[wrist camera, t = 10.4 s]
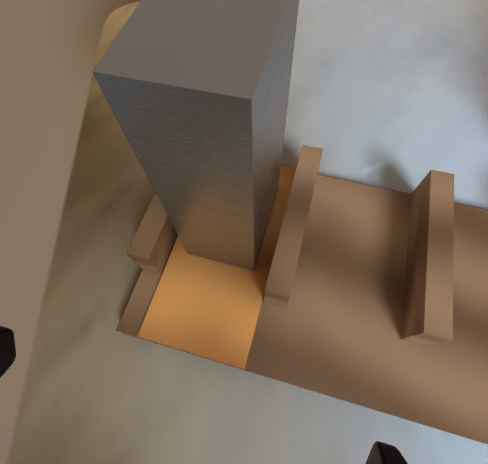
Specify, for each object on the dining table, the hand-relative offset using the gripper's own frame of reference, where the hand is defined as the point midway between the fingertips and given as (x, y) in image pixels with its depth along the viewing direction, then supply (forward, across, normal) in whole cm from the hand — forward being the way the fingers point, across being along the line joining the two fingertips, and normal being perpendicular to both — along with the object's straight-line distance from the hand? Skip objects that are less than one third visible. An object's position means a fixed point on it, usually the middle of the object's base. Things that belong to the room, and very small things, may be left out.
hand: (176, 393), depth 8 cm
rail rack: (+12, -5, +2) cm, 14 cm away
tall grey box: (+13, +2, 0) cm, 13 cm away
